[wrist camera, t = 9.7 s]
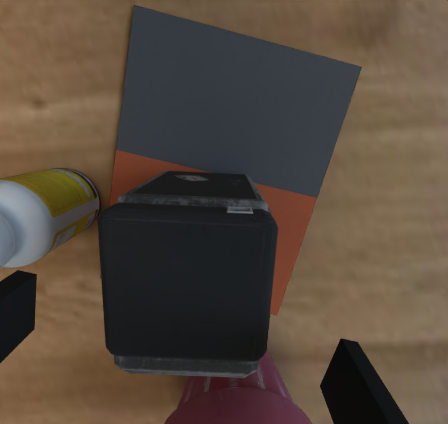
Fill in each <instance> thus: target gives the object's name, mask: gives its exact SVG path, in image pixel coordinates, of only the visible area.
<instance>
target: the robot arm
mask: <svg viewBox="0 0 448 424" xmlns="http://www.w3.org/2000/svg"><path fill="white" fill-rule="evenodd" d="M36 280H37V274H33V273H28V272H24V271H19V270H17V271H16V272H14V273H13V274H11V275H10V276H8V277H7V278H5V279H3V280H2V281H0V363H1V362H2V361H3V360H4V359H5V358H6V357H7V356H8V355H9V354H10V353H11V352H12V351H13V350H14V349H15V348H16V347H17V346H18V345H19V344H20V343H21V342H22V341H23V340H24V339H25V338H26V337H27V336H28V335H29V334H30V333H31V332H32V331H33V330H34V326H35V303H36ZM320 388H321V390H322V393H323V396H324V398H325V401H326V404H327V407H328V409H329V412H330V415H331V417H332V420H333V423H334V424H409V423H408V421H407V420H406V418H405V417H404V415H403V413H402V412H401V410H400V409H399V407H398V405H397V404H396V402H395V401H394V399H393V398H392V396H391V394H390V393H389V391H388V390H387V388H386V386H385V385H384V383H383V382H382V380H381V379H380V377H379V375H378V374H377V372H376V371H375V369H374V367H373V366H372V364H371V363H370V361H369V359H368V358H367V356H366V355H365V353H364V352H363V350H362V348H361V347H360V345H359V344H358V342H355V341H350V340H346V339H340V342H339V344H338V346H337V348H336V351H335V353H334V355H333V358H332V360H331V362H330V364H329V367H328V369H327V371H326V373H325V376H324V378H323V380H322V383H321V385H320Z"/></svg>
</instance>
